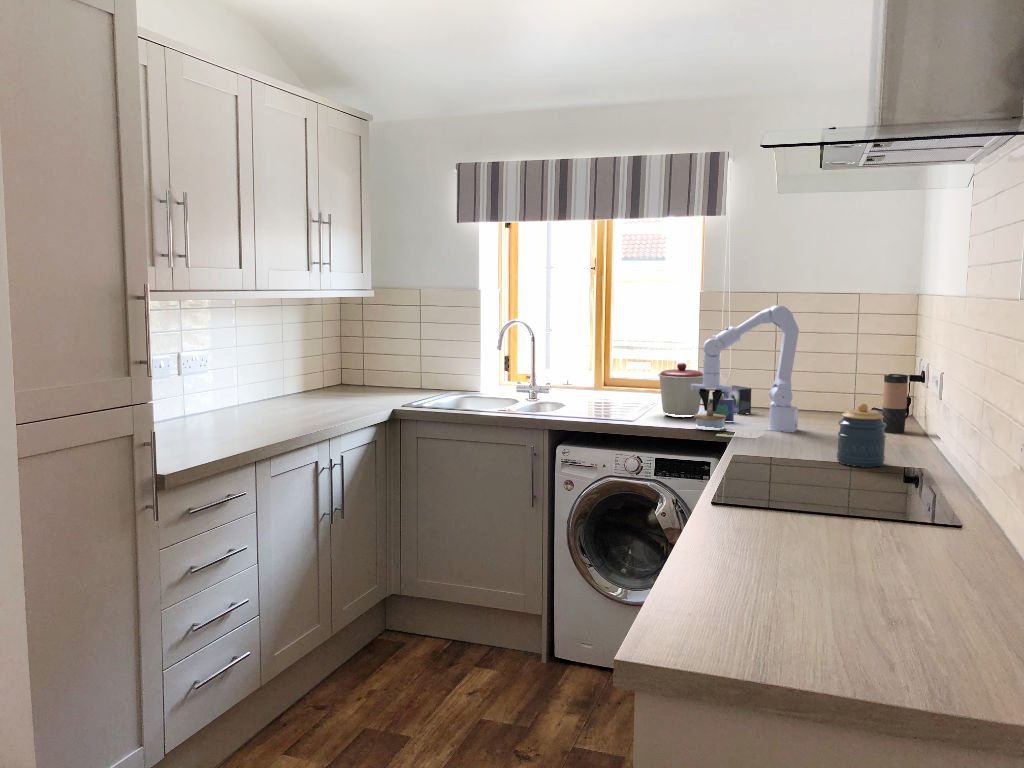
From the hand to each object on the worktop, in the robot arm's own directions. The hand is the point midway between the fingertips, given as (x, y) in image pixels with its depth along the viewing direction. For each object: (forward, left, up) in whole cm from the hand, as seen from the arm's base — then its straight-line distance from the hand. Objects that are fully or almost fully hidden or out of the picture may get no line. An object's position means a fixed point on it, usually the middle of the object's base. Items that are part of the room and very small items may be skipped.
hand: (710, 410), depth 308 cm
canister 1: (+19, -22, -7) cm, 30 cm away
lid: (0, 0, -2) cm, 3 cm away
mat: (-13, +6, -7) cm, 16 cm away
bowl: (0, 0, -7) cm, 7 cm away
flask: (+1, -16, -7) cm, 17 cm away
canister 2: (-56, +34, -7) cm, 66 cm away
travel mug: (-57, -27, -7) cm, 63 cm away
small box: (+3, -42, -7) cm, 43 cm away
